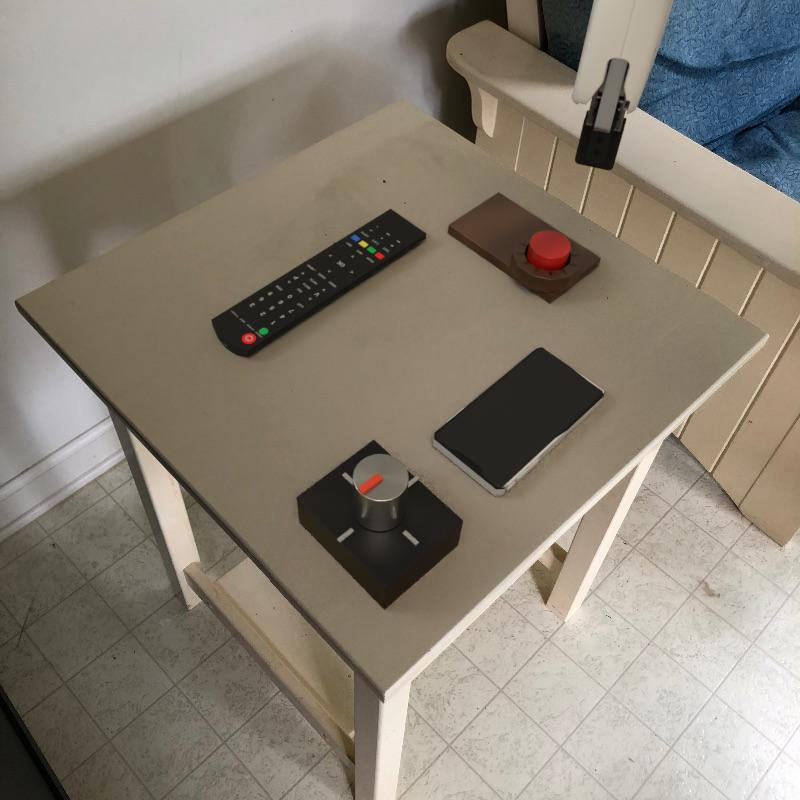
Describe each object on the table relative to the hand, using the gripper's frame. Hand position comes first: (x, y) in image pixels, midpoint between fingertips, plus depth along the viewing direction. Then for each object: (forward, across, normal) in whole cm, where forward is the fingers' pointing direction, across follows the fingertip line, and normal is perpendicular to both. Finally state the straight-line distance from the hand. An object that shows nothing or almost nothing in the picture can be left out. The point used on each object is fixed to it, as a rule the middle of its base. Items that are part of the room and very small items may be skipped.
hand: (594, 161), depth 69 cm
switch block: (+16, -6, -5) cm, 18 cm away
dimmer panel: (+17, +30, -9) cm, 36 cm away
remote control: (+17, +6, -23) cm, 29 cm away
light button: (+14, -3, -2) cm, 14 cm away
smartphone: (+17, +16, 0) cm, 23 cm away
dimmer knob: (+13, +30, -9) cm, 34 cm away
